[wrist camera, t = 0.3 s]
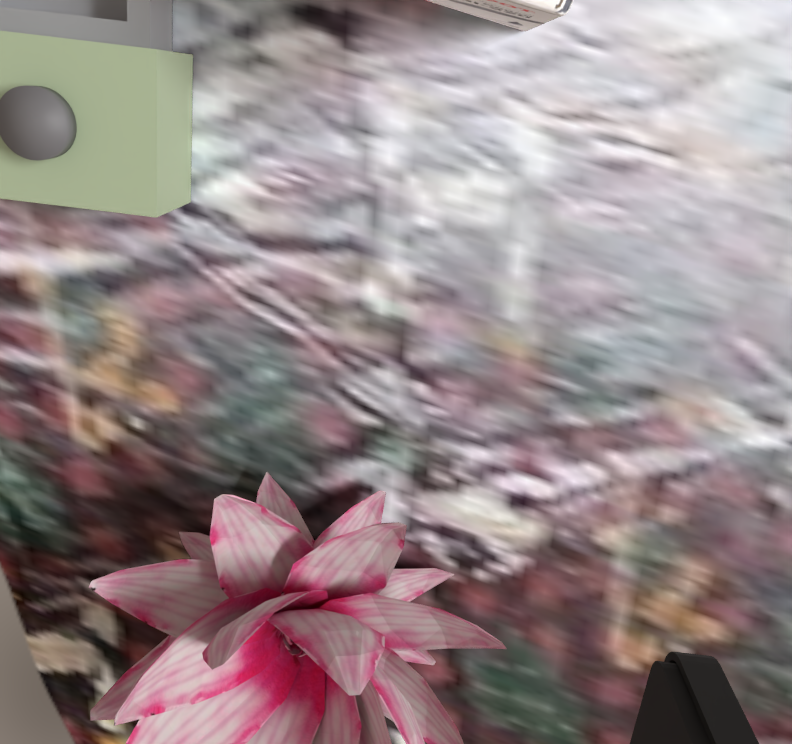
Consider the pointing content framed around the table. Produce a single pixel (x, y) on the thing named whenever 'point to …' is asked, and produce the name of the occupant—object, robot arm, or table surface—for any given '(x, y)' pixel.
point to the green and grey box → (94, 106)
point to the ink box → (511, 10)
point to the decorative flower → (285, 633)
